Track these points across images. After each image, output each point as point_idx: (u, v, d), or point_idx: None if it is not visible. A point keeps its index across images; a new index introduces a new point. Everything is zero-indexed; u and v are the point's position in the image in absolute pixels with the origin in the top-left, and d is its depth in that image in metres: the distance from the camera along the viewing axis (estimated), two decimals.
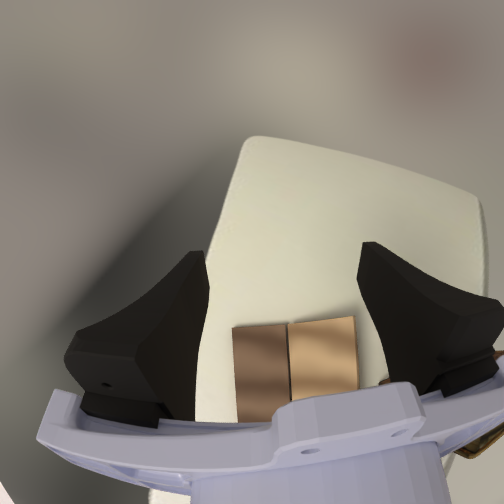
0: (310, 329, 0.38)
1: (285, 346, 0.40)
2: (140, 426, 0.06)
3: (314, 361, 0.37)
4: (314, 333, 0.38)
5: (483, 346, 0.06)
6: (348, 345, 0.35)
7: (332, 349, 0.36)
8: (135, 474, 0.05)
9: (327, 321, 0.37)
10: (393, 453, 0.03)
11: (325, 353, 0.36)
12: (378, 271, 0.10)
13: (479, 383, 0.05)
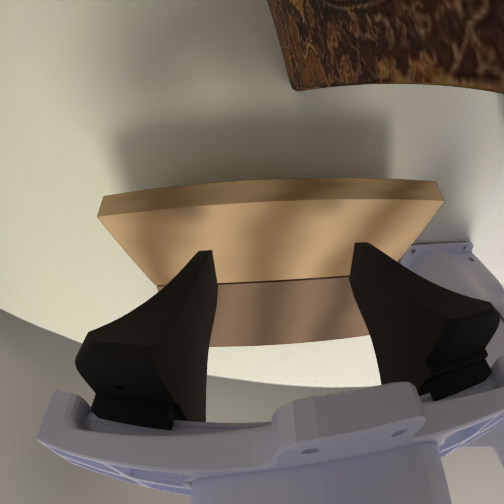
0: (153, 265, 0.19)
1: None
2: (154, 428, 0.06)
3: (214, 261, 0.19)
4: (157, 262, 0.19)
5: (475, 349, 0.06)
6: (166, 220, 0.15)
7: (182, 241, 0.17)
8: (135, 474, 0.05)
9: (127, 248, 0.17)
10: (393, 453, 0.03)
11: (194, 249, 0.18)
12: (369, 272, 0.10)
13: (471, 386, 0.06)
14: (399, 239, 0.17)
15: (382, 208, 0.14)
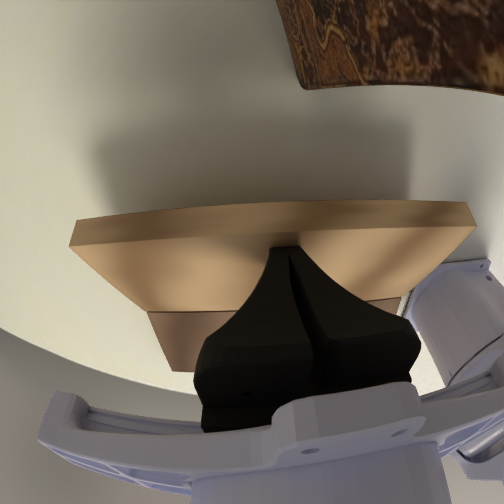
0: (140, 294, 0.17)
1: (188, 314, 0.20)
2: None
3: (209, 292, 0.16)
4: (144, 291, 0.16)
5: (390, 373, 0.06)
6: (148, 252, 0.12)
7: (170, 273, 0.14)
8: (135, 474, 0.05)
9: (108, 278, 0.14)
10: (393, 453, 0.03)
11: (185, 281, 0.15)
12: (292, 278, 0.10)
13: None
14: (421, 266, 0.14)
15: (409, 236, 0.11)
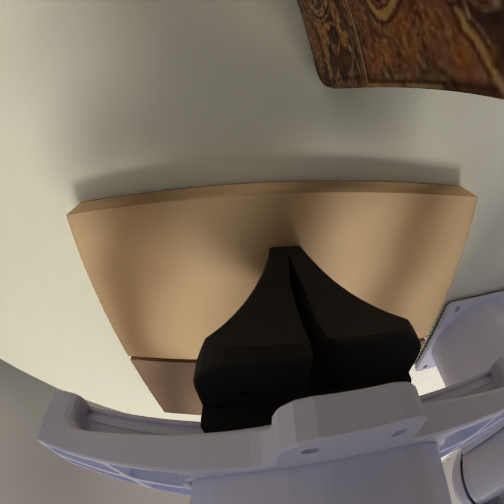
0: (124, 317, 0.14)
1: (178, 363, 0.16)
2: None
3: (202, 315, 0.14)
4: (130, 310, 0.14)
5: (390, 373, 0.06)
6: (142, 225, 0.11)
7: (161, 271, 0.12)
8: (135, 474, 0.05)
9: (94, 279, 0.13)
10: (393, 453, 0.03)
11: (176, 289, 0.13)
12: (292, 278, 0.10)
13: None
14: (438, 271, 0.13)
15: (413, 210, 0.11)
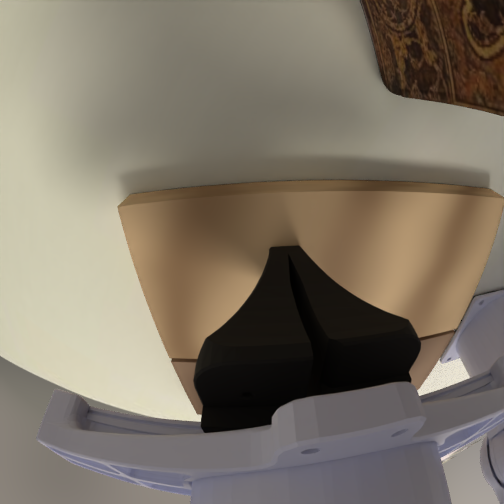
0: (173, 317, 0.14)
1: None
2: None
3: None
4: (181, 310, 0.14)
5: (390, 373, 0.06)
6: (210, 219, 0.11)
7: (224, 267, 0.12)
8: (135, 474, 0.05)
9: (143, 277, 0.13)
10: (393, 453, 0.03)
11: (237, 285, 0.13)
12: (292, 278, 0.10)
13: None
14: (471, 266, 0.13)
15: (457, 209, 0.11)
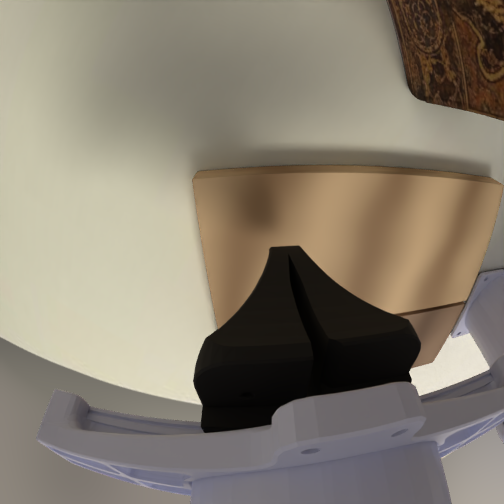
0: (230, 286, 0.16)
1: None
2: None
3: None
4: (239, 277, 0.16)
5: (390, 373, 0.06)
6: (277, 193, 0.13)
7: (284, 235, 0.14)
8: (135, 474, 0.05)
9: (207, 247, 0.15)
10: (393, 453, 0.03)
11: None
12: (292, 278, 0.10)
13: None
14: (477, 242, 0.15)
15: (465, 192, 0.13)
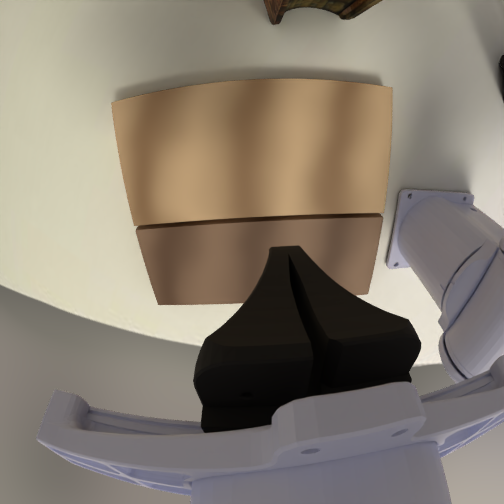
0: (138, 181, 0.19)
1: (174, 229, 0.21)
2: None
3: (197, 171, 0.19)
4: (143, 173, 0.19)
5: (390, 373, 0.06)
6: (163, 103, 0.16)
7: (171, 135, 0.17)
8: (135, 474, 0.05)
9: (121, 149, 0.18)
10: (393, 453, 0.03)
11: (180, 148, 0.18)
12: (292, 278, 0.10)
13: None
14: (373, 143, 0.18)
15: (338, 91, 0.16)
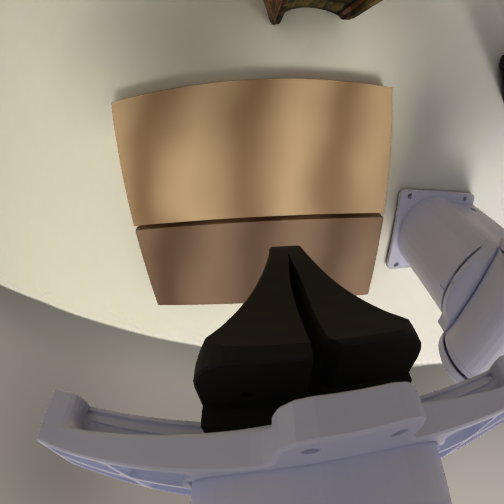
0: (138, 181, 0.19)
1: (174, 229, 0.21)
2: None
3: (197, 171, 0.19)
4: (143, 173, 0.19)
5: (390, 373, 0.06)
6: (163, 103, 0.16)
7: (171, 135, 0.17)
8: (135, 474, 0.05)
9: (121, 149, 0.18)
10: (393, 453, 0.03)
11: (180, 148, 0.18)
12: (292, 278, 0.10)
13: None
14: (373, 143, 0.18)
15: (338, 91, 0.16)
